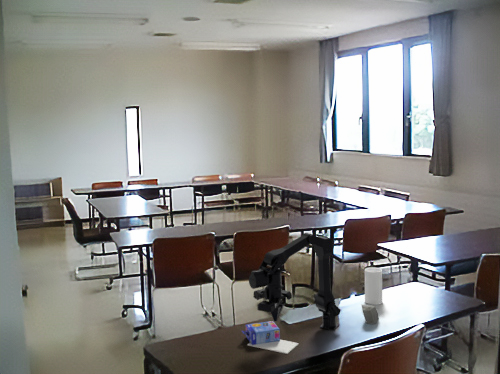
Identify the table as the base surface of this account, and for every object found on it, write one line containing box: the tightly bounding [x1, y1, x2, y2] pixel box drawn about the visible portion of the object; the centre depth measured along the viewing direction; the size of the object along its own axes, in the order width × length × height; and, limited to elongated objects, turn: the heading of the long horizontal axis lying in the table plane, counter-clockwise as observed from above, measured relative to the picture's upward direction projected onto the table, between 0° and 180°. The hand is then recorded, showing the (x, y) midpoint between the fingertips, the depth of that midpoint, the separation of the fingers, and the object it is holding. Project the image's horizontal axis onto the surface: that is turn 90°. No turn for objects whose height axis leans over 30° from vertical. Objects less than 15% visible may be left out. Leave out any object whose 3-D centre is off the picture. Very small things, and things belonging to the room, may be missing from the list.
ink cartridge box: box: [241, 320, 281, 345], centre depth 218 cm, size 10×6×14 cm
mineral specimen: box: [361, 304, 380, 325], centre depth 232 cm, size 7×9×8 cm
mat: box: [246, 339, 299, 355], centre depth 213 cm, size 10×18×1 cm, turn 59°
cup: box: [364, 266, 383, 306], centre depth 257 cm, size 8×8×16 cm
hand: (275, 321), depth 215 cm, fingers closed
